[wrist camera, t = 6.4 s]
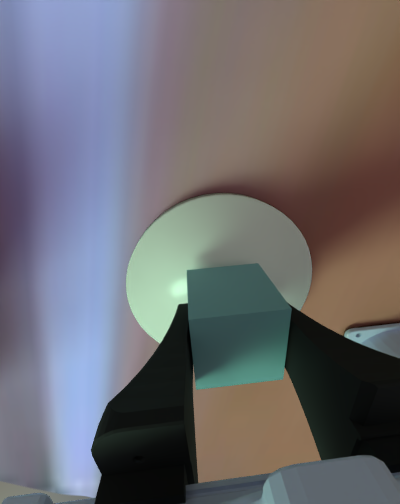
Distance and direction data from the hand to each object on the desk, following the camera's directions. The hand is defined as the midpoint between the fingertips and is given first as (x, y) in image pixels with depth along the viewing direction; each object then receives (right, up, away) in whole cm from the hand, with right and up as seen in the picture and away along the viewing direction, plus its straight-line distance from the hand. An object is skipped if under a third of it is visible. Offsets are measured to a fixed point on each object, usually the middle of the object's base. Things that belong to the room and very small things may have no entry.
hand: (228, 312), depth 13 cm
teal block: (0, +1, +1) cm, 2 cm away
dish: (0, +1, +3) cm, 4 cm away
